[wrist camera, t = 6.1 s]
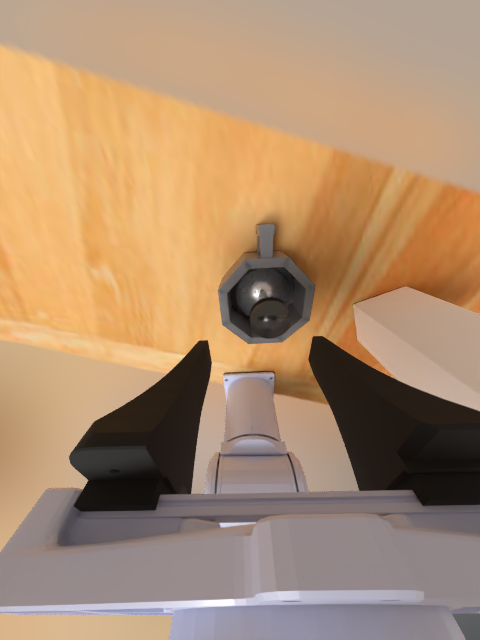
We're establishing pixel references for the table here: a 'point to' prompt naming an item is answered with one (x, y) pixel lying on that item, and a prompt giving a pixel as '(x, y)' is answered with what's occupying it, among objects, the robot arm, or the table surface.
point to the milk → (424, 342)
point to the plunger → (265, 301)
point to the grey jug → (267, 258)
